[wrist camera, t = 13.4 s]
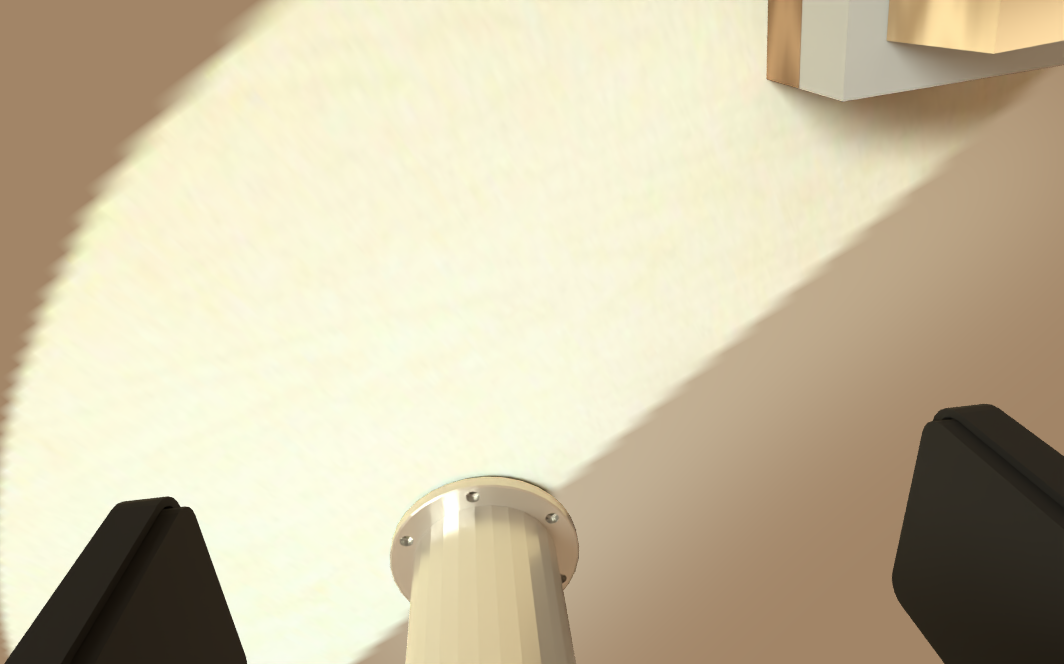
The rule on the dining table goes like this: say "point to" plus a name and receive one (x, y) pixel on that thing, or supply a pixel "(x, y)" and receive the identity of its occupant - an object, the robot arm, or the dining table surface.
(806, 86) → the tower top
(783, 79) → the tower base
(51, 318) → the dining table surface
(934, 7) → the block
